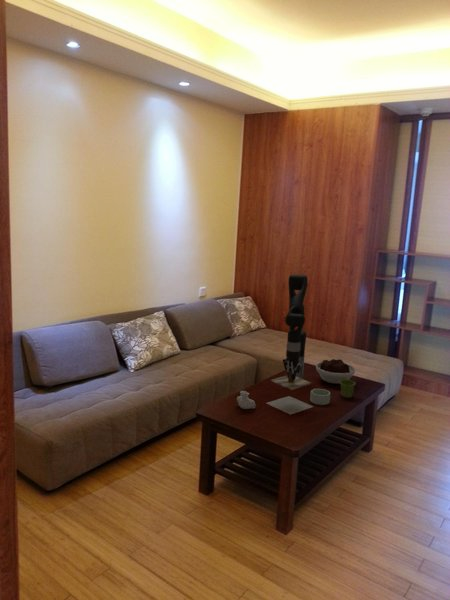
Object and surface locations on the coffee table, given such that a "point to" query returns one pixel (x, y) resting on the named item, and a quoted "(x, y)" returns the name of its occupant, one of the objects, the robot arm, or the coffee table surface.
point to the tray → (289, 405)
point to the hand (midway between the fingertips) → (291, 378)
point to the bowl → (320, 396)
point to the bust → (245, 401)
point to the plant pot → (347, 388)
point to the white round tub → (335, 371)
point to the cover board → (291, 382)
